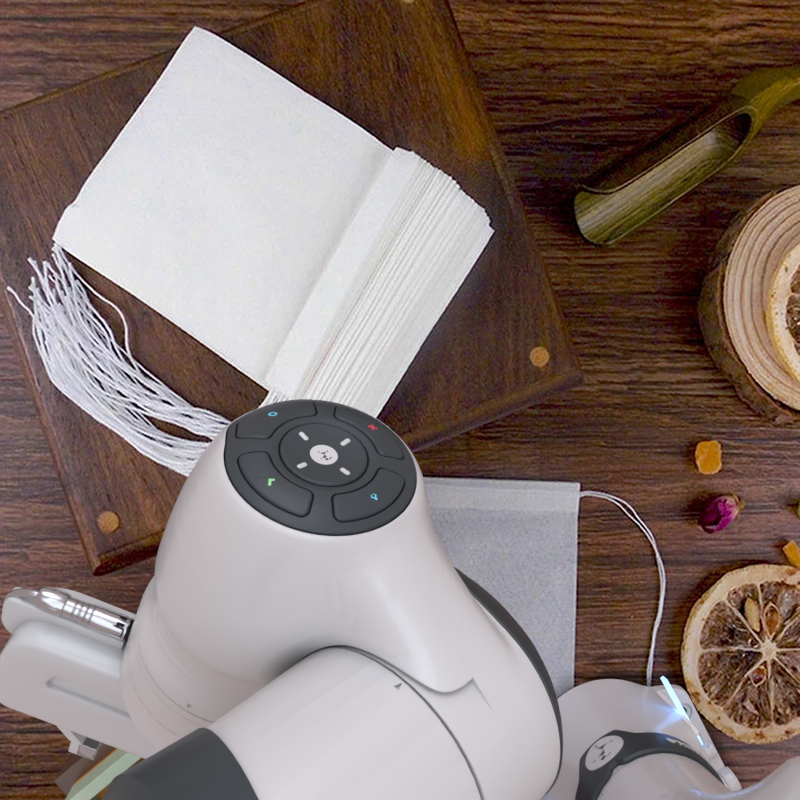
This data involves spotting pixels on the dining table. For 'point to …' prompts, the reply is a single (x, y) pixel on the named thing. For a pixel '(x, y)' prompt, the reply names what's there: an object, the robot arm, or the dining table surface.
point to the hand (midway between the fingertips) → (166, 774)
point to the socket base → (102, 776)
